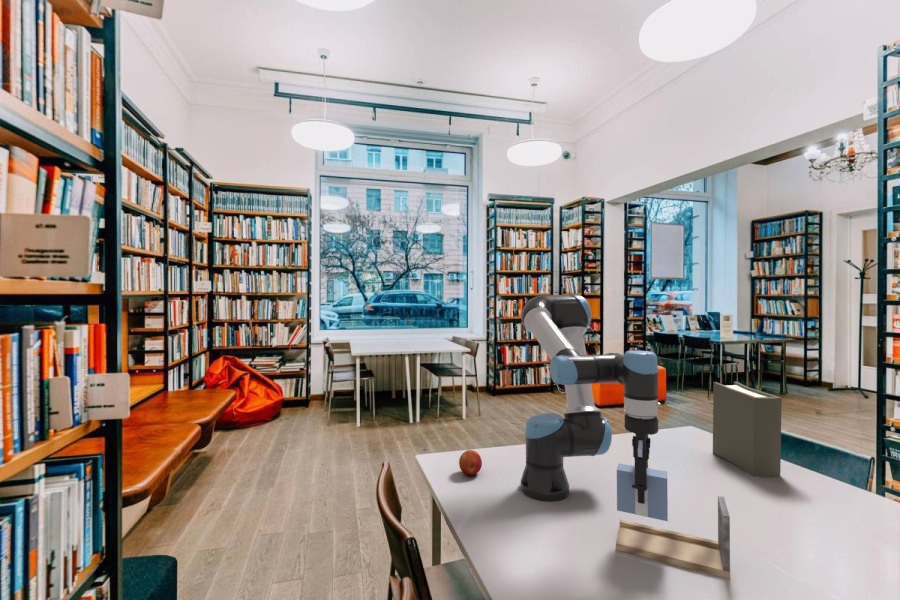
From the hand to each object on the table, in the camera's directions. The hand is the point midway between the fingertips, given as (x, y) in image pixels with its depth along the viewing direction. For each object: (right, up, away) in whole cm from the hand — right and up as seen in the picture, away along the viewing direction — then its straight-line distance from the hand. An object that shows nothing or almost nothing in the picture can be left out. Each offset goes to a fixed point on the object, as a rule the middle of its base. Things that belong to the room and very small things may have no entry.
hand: (642, 509), depth 101 cm
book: (+60, -9, +49) cm, 78 cm away
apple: (-40, -10, +43) cm, 59 cm away
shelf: (+6, -9, -2) cm, 11 cm away
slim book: (0, 0, 0) cm, 0 cm away
